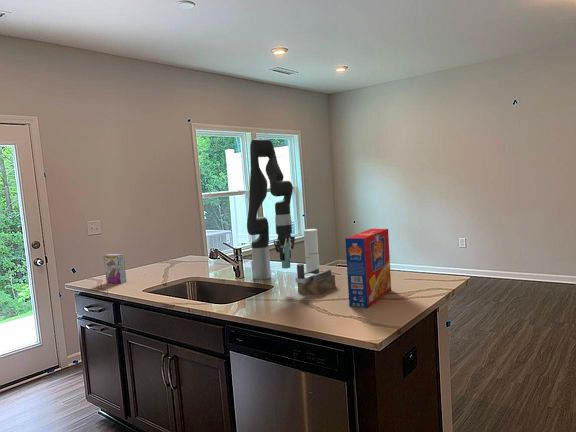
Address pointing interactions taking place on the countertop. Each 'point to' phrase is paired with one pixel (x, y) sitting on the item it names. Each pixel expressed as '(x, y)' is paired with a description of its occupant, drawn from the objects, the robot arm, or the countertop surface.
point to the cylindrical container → (311, 249)
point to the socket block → (318, 282)
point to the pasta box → (368, 267)
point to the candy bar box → (115, 268)
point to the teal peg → (286, 257)
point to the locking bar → (301, 276)
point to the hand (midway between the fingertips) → (285, 259)
